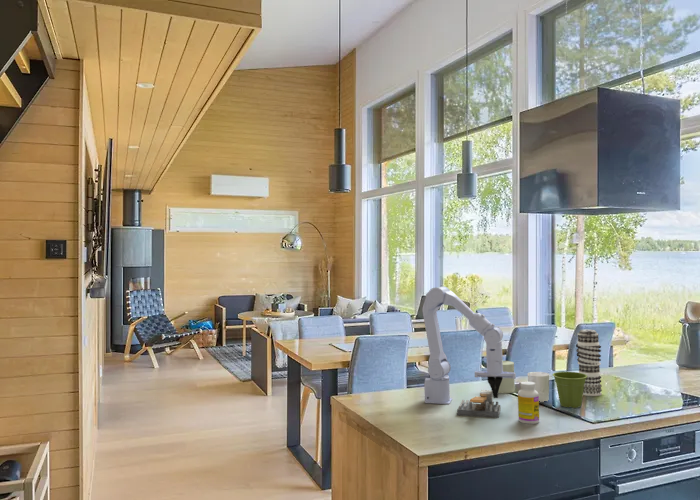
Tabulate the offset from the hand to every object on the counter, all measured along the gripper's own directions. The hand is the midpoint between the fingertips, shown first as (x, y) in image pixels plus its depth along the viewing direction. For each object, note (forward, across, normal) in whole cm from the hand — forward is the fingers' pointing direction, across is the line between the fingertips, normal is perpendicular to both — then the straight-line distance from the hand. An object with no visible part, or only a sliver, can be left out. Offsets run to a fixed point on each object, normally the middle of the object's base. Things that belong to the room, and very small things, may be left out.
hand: (495, 397), depth 209 cm
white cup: (+4, +15, +13) cm, 20 cm away
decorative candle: (+4, +34, +28) cm, 44 cm away
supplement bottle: (+4, +12, -17) cm, 21 cm away
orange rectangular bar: (-1, -5, -10) cm, 11 cm away
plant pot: (+4, +26, +7) cm, 27 cm away
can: (+4, +1, +26) cm, 26 cm away
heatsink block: (+3, -5, -10) cm, 12 cm away
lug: (+3, -3, 0) cm, 5 cm away
